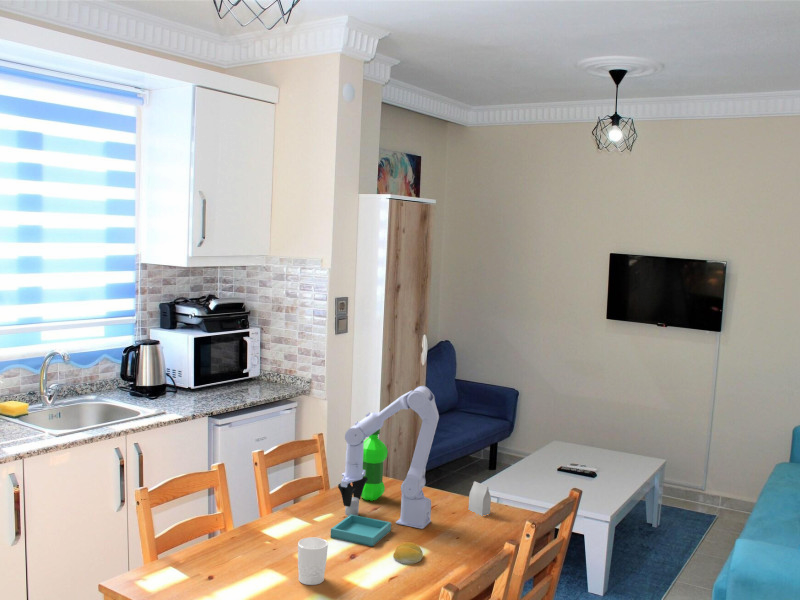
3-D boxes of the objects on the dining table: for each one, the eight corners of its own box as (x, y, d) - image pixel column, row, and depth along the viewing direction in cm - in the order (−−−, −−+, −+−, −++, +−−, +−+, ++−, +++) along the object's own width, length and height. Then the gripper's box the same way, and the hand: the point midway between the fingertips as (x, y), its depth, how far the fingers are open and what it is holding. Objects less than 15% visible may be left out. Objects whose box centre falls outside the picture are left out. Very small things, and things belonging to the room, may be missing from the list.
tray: (390, 530, 237) (391, 522, 236) (372, 546, 224) (372, 537, 223) (350, 522, 242) (351, 514, 242) (330, 537, 229) (330, 528, 229)
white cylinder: (360, 513, 251) (361, 498, 250) (354, 517, 247) (355, 502, 246) (348, 510, 252) (349, 496, 252) (342, 514, 248) (343, 500, 248)
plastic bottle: (357, 492, 271) (361, 423, 269) (386, 494, 270) (390, 426, 268) (353, 501, 261) (356, 430, 259) (383, 504, 260) (387, 433, 258)
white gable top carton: (481, 517, 253) (483, 487, 252) (468, 510, 258) (470, 482, 258) (489, 515, 255) (491, 486, 254) (476, 508, 261) (478, 480, 260)
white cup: (297, 572, 204) (298, 536, 203) (326, 573, 204) (328, 537, 204) (295, 586, 196) (297, 549, 195) (326, 586, 197) (327, 549, 196)
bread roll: (391, 563, 213) (391, 549, 213) (397, 550, 222) (397, 537, 222) (420, 566, 212) (420, 553, 212) (424, 554, 221) (425, 541, 220)
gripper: (352, 454, 256) (350, 493, 257) (333, 465, 243) (331, 506, 244) (371, 458, 254) (369, 497, 255) (353, 469, 240) (350, 510, 241)
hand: (352, 502), depth 249 cm, fingers open, 7 cm apart
